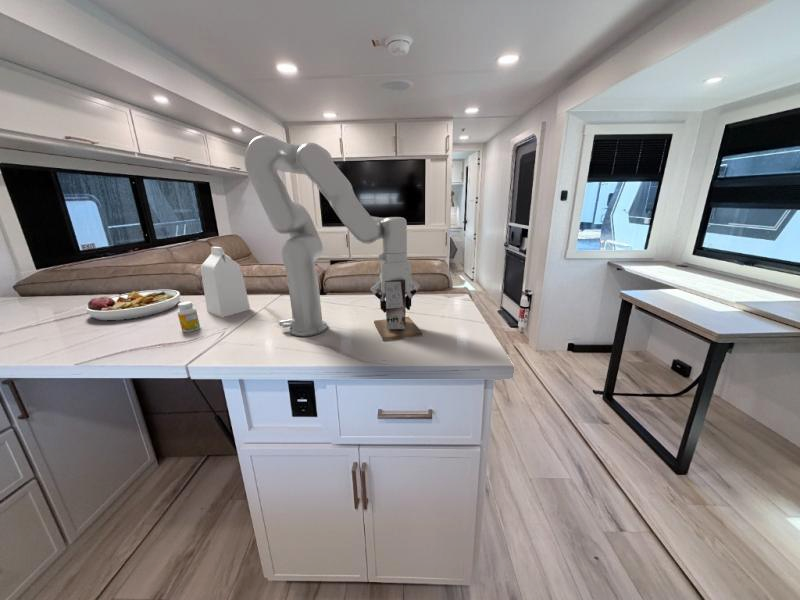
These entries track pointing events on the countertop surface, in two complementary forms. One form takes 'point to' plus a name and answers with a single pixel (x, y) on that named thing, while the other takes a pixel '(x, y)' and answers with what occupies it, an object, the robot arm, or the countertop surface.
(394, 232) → the robot arm
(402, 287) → the coffee box
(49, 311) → the countertop surface
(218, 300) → the milk
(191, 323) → the supplement bottle
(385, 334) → the walnut board
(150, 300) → the plate of food
